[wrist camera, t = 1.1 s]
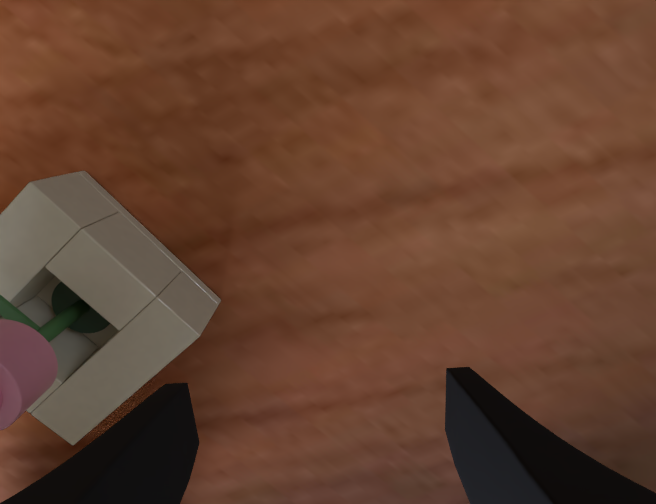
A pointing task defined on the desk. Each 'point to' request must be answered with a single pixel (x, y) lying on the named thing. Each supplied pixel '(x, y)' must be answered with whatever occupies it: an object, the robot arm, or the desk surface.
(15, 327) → the flower
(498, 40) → the desk surface
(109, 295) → the beige square socket block
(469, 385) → the robot arm
